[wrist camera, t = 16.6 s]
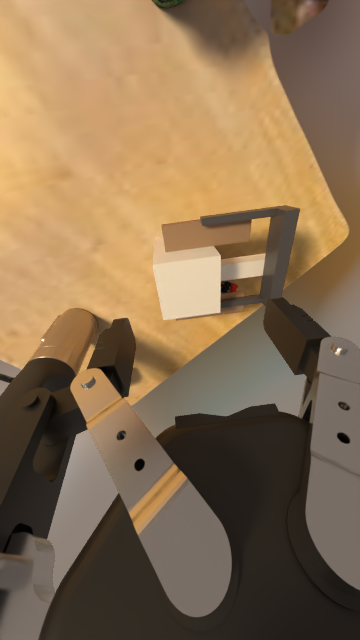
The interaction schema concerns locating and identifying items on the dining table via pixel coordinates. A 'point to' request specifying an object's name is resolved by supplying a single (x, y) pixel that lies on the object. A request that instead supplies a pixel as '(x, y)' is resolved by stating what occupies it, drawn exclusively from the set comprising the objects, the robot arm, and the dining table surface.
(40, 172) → the dining table surface
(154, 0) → the decorative ornament
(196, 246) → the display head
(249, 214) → the grey u-shaped bracket
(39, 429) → the robot arm
